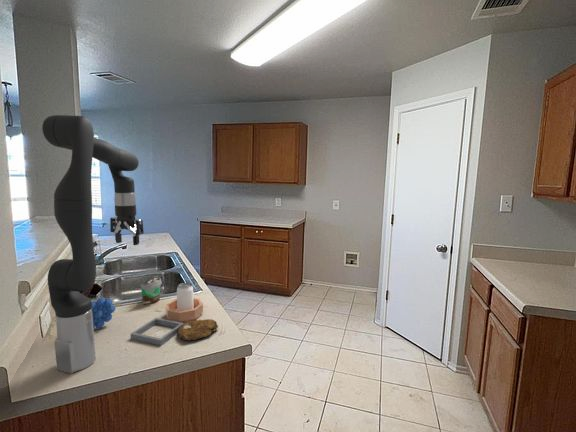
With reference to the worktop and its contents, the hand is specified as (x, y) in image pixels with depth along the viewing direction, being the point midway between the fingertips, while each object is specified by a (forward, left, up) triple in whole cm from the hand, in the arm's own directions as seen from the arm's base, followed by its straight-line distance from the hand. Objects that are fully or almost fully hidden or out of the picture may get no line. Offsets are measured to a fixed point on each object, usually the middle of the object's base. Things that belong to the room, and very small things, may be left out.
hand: (127, 243), depth 127 cm
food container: (+14, 0, -30) cm, 33 cm away
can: (+7, -22, -29) cm, 37 cm away
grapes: (-13, +3, -30) cm, 33 cm away
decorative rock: (-4, -35, -31) cm, 46 cm away
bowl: (+7, -21, -30) cm, 37 cm away
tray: (-9, -21, -30) cm, 38 cm away
